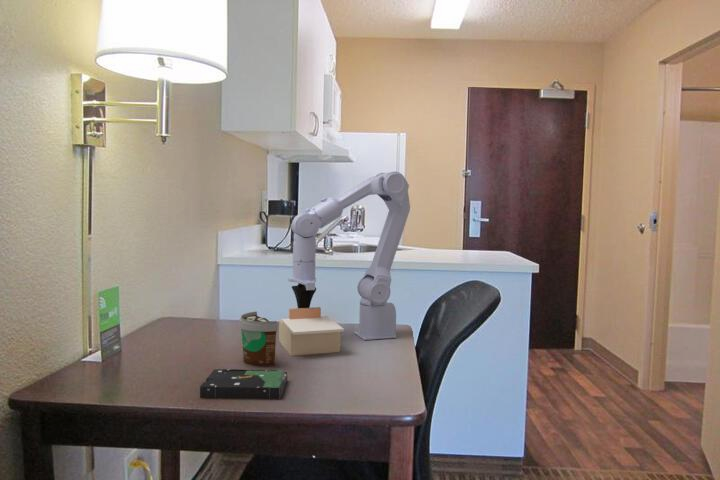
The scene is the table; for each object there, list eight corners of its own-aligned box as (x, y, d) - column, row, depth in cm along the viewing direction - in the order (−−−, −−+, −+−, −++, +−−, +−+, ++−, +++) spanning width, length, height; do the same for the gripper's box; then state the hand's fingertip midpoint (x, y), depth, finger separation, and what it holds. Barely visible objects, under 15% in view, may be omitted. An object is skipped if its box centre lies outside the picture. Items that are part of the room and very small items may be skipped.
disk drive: (199, 401, 97) (281, 401, 97) (199, 386, 97) (281, 386, 97) (213, 382, 107) (287, 382, 108) (213, 368, 107) (287, 368, 107)
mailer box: (323, 337, 141) (324, 317, 141) (340, 351, 128) (340, 330, 128) (278, 340, 137) (279, 320, 137) (290, 355, 124) (291, 333, 124)
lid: (327, 318, 139) (327, 306, 138) (343, 331, 125) (344, 318, 125) (281, 321, 134) (281, 309, 134) (293, 334, 121) (293, 321, 121)
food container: (230, 356, 123) (230, 313, 122) (255, 352, 126) (255, 310, 125) (250, 371, 112) (250, 324, 112) (277, 367, 116) (277, 321, 115)
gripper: (282, 258, 142) (282, 308, 143) (295, 264, 128) (294, 320, 129) (308, 257, 144) (308, 307, 145) (323, 264, 131) (322, 319, 132)
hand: (303, 313), depth 138 cm, fingers closed
